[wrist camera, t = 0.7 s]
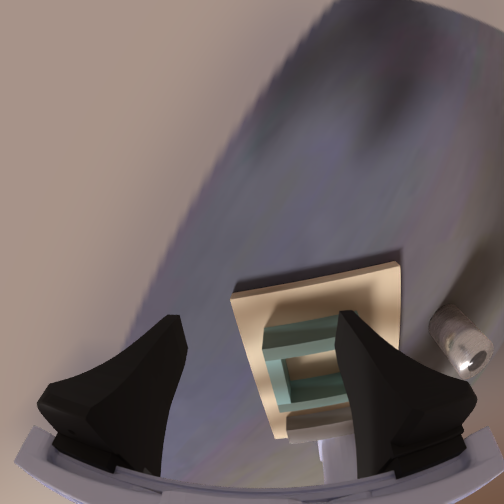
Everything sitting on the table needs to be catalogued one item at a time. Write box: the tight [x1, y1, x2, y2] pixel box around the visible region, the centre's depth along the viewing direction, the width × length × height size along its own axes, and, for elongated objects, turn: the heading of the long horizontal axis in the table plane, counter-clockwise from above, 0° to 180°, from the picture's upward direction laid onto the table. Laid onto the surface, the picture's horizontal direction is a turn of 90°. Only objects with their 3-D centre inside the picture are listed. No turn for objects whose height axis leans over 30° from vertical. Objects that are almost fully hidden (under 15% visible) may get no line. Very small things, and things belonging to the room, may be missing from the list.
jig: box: [230, 261, 401, 444], centre depth 22 cm, size 20×14×4 cm
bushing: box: [429, 304, 494, 379], centre depth 19 cm, size 4×4×7 cm
